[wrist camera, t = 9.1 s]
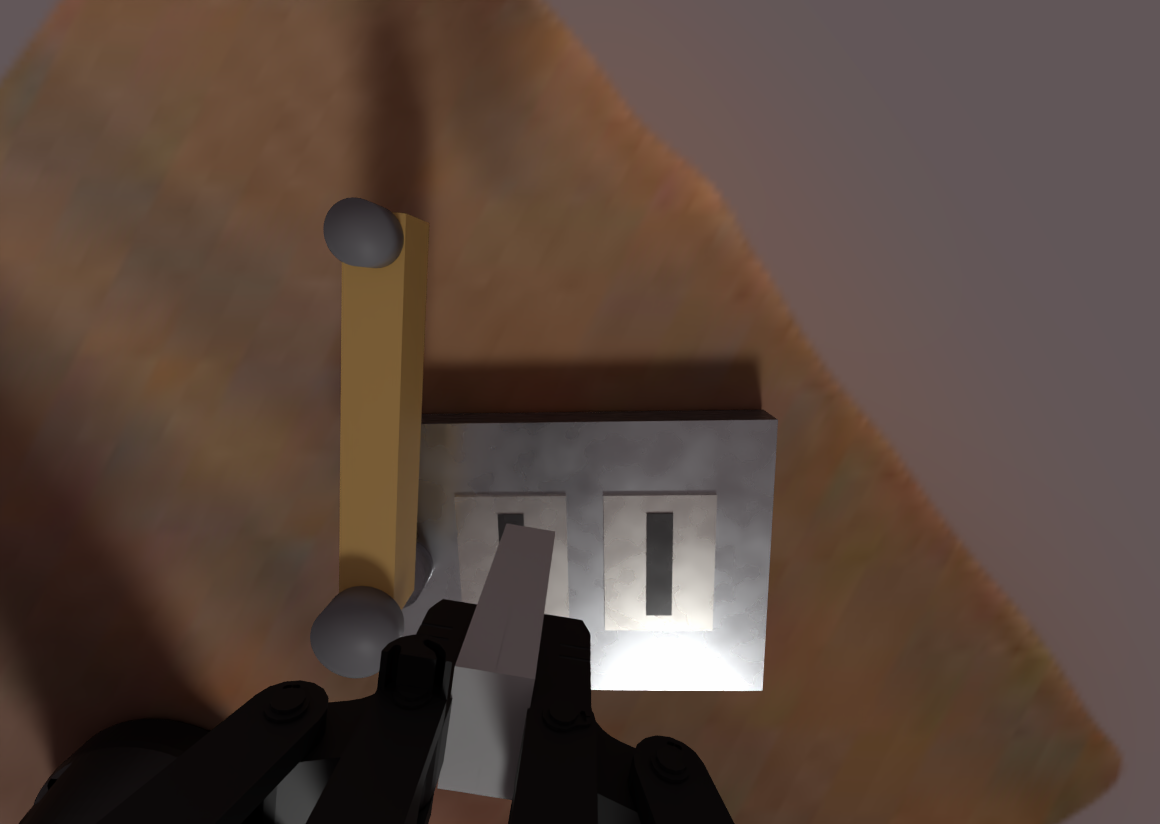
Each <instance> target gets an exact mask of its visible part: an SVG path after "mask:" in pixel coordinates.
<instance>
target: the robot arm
mask: <svg viewBox="0 0 1160 824" xmlns="http://www.w3.org/2000/svg"><path fill="white" fill-rule="evenodd" d="M554 539H555V531H549V530H543V529H537V528H531V527H525V526H519V525H513V524H507V523H506V526H505V529H504V532H503V534H502V537H501V540H500V543H499V546H498V548H497V551H496V554H495V557H494V559H493V562H492V565H491V568H490V570H489V573H488V576H487V579H486V581H485V584H484V587H483V590H482V592H481V595H480V598H479V601H478V604H472V603H466V602H459V601H453V600H447V599H442V600H441V601H439V602H438V603H436V604H435V605H434V606H432V607H431V608H429V610H428V611H427V613H426V615H425V617H424V619H423V621H422V624H421V625H420V627H419V629H418V631H417V633H416V635H409V636H404V637H400V638H398V639H396V640H394V641H392V642H390V643H388V644H387V645H386V647H385V648H384V649H383V650H382V651H381V659H380V669H379V678H378V687H377V691H376V693H375V694H373V695H371V696H368V697H365V698H362V699H356V700H351V701H340V702H329V703H328V696H327V694H326V692H325V690H324V689H323V688H321V687H320V686H318V685H316V684H315V683H311V682H306V681H301V680H300V681H287V682H282V683H279V684H276V685H273V686H270V687H268V688H266V689H265V690H263V691H261V692H260V693H258V694H256V695H255V696H254V697H253V698H251V699H250V700H249V701H248V702H246V703H245V704H244V705H243V706H241V707H240V708H239V709H238V710H236V711H235V712H234V713H233V714H231V715H230V716H229V717H228V718H226V719H225V720H224V721H223V722H221V723H220V724H219V725H218V726H216V727H215V728H214V729H213V730H211V731H210V732H208V731H206V730H204V729H201V728H198V727H195V726H192V725H189V724H185V723H181V722H176V721H170V720H162V719H143V720H134V721H128V722H124V723H120V724H117V725H114V726H112V727H109V728H107V729H105V730H103V731H101V732H99V733H98V734H96V735H95V736H93V737H92V738H91V739H90V740H88V741H87V742H86V743H85V744H84V745H83V746H82V747H80V748H79V749H78V750H77V751H76V752H75V753H74V754H72V755H71V756H70V757H69V758H68V759H67V760H66V761H64V762H63V763H62V764H61V765H60V766H59V767H58V768H57V769H56V770H55V771H54V773H53V774H52V775H51V776H50V777H49V778H48V780H47V781H46V783H45V784H44V786H43V787H42V788H41V790H40V792H39V794H38V795H37V797H36V799H35V802H34V805H33V807H32V808H31V809H30V810H29V811H28V812H27V814H26V815H25V816H24V817H23V819H22V820H21V821H20V822H19V824H428V822H429V819H430V816H431V810H432V803H433V796H434V791H435V787H436V784H437V781H438V778H439V781H438V788H439V789H446V790H452V791H459V792H465V793H471V794H478V795H484V796H491V797H497V798H504V799H510V800H512V804H511V810H510V815H509V821H508V824H734V822H733V820H732V818H731V816H730V814H729V812H728V810H727V808H726V806H725V804H724V802H723V800H722V798H721V797H720V795H719V793H718V791H717V789H716V787H715V785H714V783H713V781H712V779H711V777H710V775H709V773H708V771H707V769H706V767H705V765H704V763H703V762H702V761H701V759H700V758H699V757H698V755H697V754H696V752H695V751H693V750H692V749H691V748H689V747H688V746H687V745H686V744H684V743H682V742H680V741H678V740H675V739H673V738H671V737H665V736H652V737H648V738H645V739H643V740H642V741H641V742H640V743H638V744H637V746H636V748H634V747H631V746H629V745H627V744H625V743H622V742H620V741H618V740H617V739H615V738H613V737H611V736H610V735H609V734H607V733H606V732H605V731H604V730H602V728H601V727H600V726H599V725H598V723H597V722H596V720H595V717H594V713H593V712H592V708H591V663H590V661H591V651H590V649H591V634H590V632H589V630H588V629H587V627H586V625H585V624H584V622H583V620H579V619H573V618H567V617H561V616H555V615H548V614H544V611H545V604H546V596H547V589H548V582H549V575H550V568H551V560H552V553H553V546H554Z"/></svg>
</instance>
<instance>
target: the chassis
mask: <svg viewBox="0 0 1160 824" xmlns="http://www.w3.org/2000/svg"><path fill="white" fill-rule="evenodd" d="M777 425H778V419H776V418H775V417H773V416H772V415H770V414H769V413H768V412H766V411H765V410H696V411H618V412H539V413H461V414H421V438H420V462H419V487H418V511H417V535H416V560H415V584H414V591H413V593H412V594H411V596H410V598H409V599H408V601H407V602H406V604H405V606H404V607H403V609H402V613H403V616H404V621H405V627H404V633H403V636H402V637H404V636H409V635H416V633H417V631H418V629H419V627H420V625H421V624H422V621H423V619H424V617H425V615H426V613H427V611H428V610H429V608H431V607H432V606H434V605H435V604H436V603H438V602H439V601H441V600H442V599H447V600H453V601H459V602H466V603H472V604H478V601H479V598H480V595H481V592H482V590H483V587H484V584H485V581H486V579H487V576H488V573H489V570H490V568H491V565H492V562H493V559H494V557H495V554H496V551H497V548H498V546H499V543H500V540H501V537H502V534H503V532H504V529H505V526H506V523H507V524H513V525H519V526H525V527H531V528H537V529H543V530H549V531H555V539H554V546H553V553H552V560H551V568H550V575H549V582H548V589H547V596H546V604H545V611H544V614H548V615H555V616H561V617H567V618H573V619H579V620H583V622H584V624H585V625H586V627H587V629H588V630H589V632H590V634H591V649H590V651H591V661H590V663H591V690H718V691H762V687H763V669H764V652H765V635H766V617H767V600H768V582H769V565H770V547H771V530H772V512H773V495H774V477H775V460H776V443H777Z"/></svg>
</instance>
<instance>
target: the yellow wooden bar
mask: <svg viewBox="0 0 1160 824" xmlns="http://www.w3.org/2000/svg"><path fill="white" fill-rule="evenodd" d="M324 237H325V241H326V243H327V246H328V248H329V249H330V251H331V252H332V253H333V255H334V256H335V257H336V258H338V259H339V260H340V261H342V320H341V437H340V554H339V594H338V595H337V596H335V598H334V599H333V600H332V601H331V602H330V603H329V604H328V606H327V607H326V608H325V609H324V610H323V611H322V613H321V614H320V615H319V616H318V617H317V618H316V620H315V622H314V623H313V626H312V629H311V635H310V639H311V646H312V649H313V651H314V653H315V655H316V657H317V658H318V660H319V661H320V662H321V663H322V664H323V665H324V666H325V667H326V668H327V669H329V670H330V671H332V672H334V673H336V674H338V675H340V676H344V677H349V678H363V677H368V676H371V675H373V674H375V673H377V672H379V669H380V659H381V651H382V650H383V649H384V648H385V647H386V645H387V644H388V643H390V642H392V641H394V640H396V639H398V638H400V637H402V636H403V633H404V627H405V621H404V616H403V613H402V609H403V607H404V606H405V604H406V602H407V601H408V599H409V598H410V596H411V594H412V593H413V591H414V584H415V560H416V535H417V511H418V487H419V462H420V438H421V413H422V389H423V364H424V340H425V316H426V291H427V267H428V242H429V223H428V222H425V221H423V220H420V219H418V218H416V217H413V216H411V215H408V214H406V213H397V212H390V211H389V210H388V209H386V208H384V207H382V206H379V205H377V204H374V203H372V202H369V201H367V200H364V199H361V198H346V199H343V200H341V201H339V202H337V203H336V204H335V205H333V206H332V207H331V209H330V210H329V211H328V213H327V215H326V218H325V221H324Z"/></svg>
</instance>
